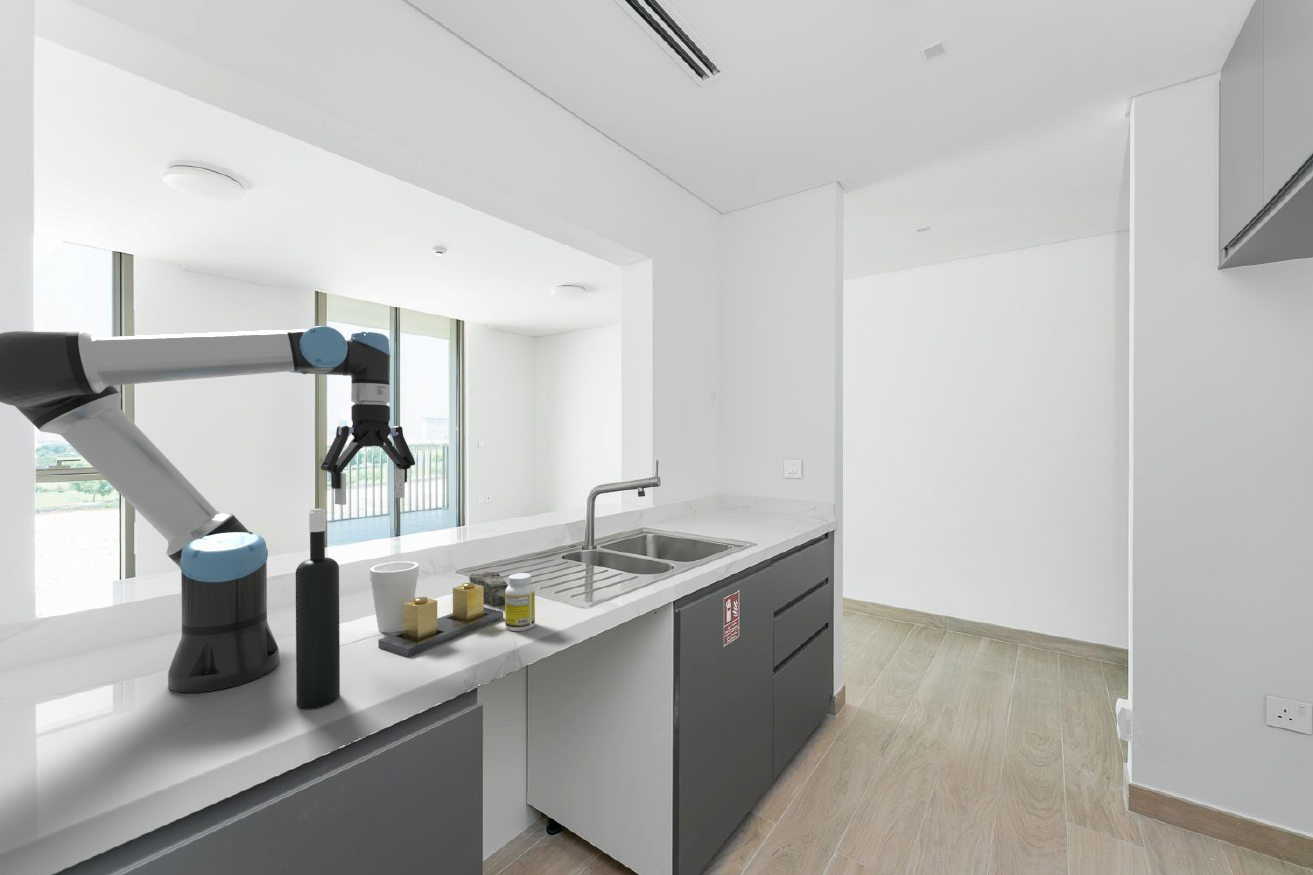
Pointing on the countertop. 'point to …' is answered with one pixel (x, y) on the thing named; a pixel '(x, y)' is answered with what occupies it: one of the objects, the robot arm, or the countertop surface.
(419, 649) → the dark grey slotted tray
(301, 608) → the wine bottle
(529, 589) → the pill bottle
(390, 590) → the foam cup
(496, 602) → the stone
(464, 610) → the brass knobbed block
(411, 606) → the brass block with knob
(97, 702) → the countertop surface
